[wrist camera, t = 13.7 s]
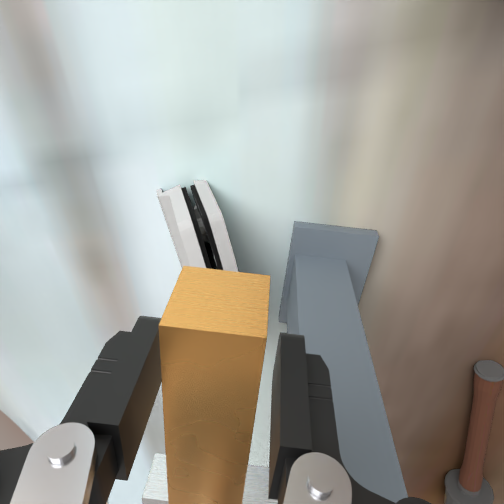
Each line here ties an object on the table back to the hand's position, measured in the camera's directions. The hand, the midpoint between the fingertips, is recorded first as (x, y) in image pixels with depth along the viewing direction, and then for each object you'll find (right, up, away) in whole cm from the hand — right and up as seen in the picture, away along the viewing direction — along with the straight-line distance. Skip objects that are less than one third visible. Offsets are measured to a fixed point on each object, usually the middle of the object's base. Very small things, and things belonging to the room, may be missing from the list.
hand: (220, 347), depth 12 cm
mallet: (+31, -22, +40) cm, 56 cm away
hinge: (-3, +3, +28) cm, 28 cm away
